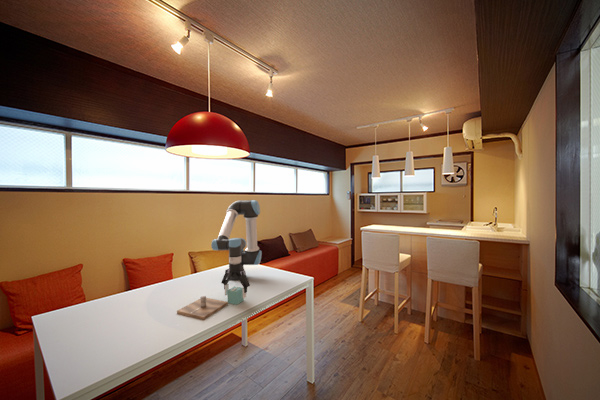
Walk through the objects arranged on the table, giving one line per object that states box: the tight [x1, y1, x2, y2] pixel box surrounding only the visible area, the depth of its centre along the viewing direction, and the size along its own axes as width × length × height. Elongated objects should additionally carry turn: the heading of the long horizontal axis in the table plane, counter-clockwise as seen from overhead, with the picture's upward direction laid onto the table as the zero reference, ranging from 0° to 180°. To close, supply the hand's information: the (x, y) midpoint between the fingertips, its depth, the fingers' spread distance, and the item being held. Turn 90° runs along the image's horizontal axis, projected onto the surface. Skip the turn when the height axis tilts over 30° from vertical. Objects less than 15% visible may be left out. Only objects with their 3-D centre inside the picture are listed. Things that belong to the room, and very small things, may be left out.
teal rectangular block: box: [227, 286, 245, 306], centre depth 151 cm, size 7×7×9 cm
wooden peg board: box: [176, 295, 229, 320], centre depth 142 cm, size 20×20×7 cm
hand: (235, 296), depth 151 cm, fingers open, 13 cm apart
